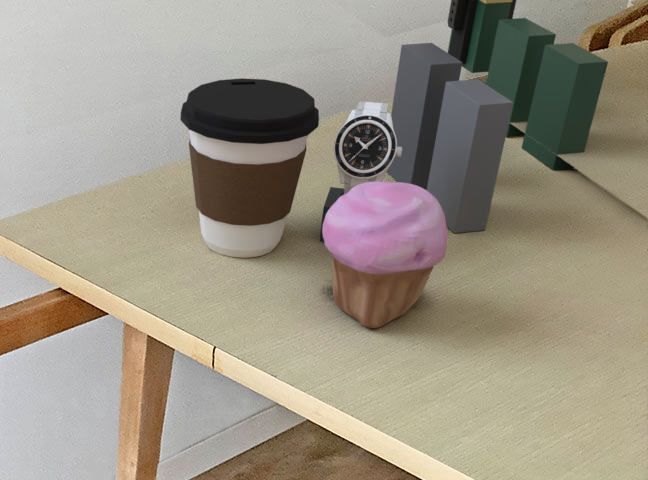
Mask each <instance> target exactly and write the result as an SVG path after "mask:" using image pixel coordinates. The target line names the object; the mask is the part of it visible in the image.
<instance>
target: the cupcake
mask: <svg viewBox="0 0 648 480" xmlns="http://www.w3.org/2000/svg"><path fill="white" fill-rule="evenodd" d="M322 233H323V238H324V242H323V243H324V246H325V248H326V249H327V250H328V252H329V253H330V254H331V258H332V261H331V262H332V268H331V269H332V270H331V271H332V277H331V279H332V294H333V299H334V303H335V305H336V306H337V307H338V308H339V309H340V310H342V311H343V312H345V313H346V314H347V315H349V316H350V317H352V318H354V319H355V320H356V321H357V322H358V323H359V324H360V325H361V326H363V327H366V328H370V329H379V328H381V327H384V325H386V324H388V323H390V322H391V321H393V320H395V319H397V318H400V317H401V316H404V314H405V313H406V312H407V311H409V310H410V308H412V307H413V305H414V304H416V302H417V301H418V300H419V298H420V297H421V295H422V293H423V292H424V290H425V287H426V285H427V283H428V280H429V279H430V275H431V274H432V271H433V269H434V268H435V267H434V266H436V265H438V264H439V263H440V262H441V261H442V260H443V259H444V258H445V255H446V252H447V247H448V246H447V245H448V227H447V226H446V220H445V215H444V212H443V210H442V208H441V206H440V204H439V202H438V200H437V199H436V198H435V197H434V196H433V195H432V194H431V193H429V192H428V191H427V190H425V189H423V188H421V187H419V186H416V185H413V184H408V183H401V182H397V181H396V182H389V181H382V182H367V183H362V184H359V185H357V186H355V187H353V188H352V189H351V190H350V191H349V192H348V193H346V194H344V195H342V196H341V197H339V198H338V200H337V201H336V202H335V203H334V204H333V205H332V206H331V207H330V209H329V210H328V212H327V213H326V216H325V220H324V223H323V229H322Z"/></svg>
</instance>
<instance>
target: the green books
mask: <svg viewBox="0 0 648 480" xmlns="http://www.w3.org/2000/svg"><path fill="white" fill-rule="evenodd" d="M556 36H557V34H556V33H554V32H553V31H551V30H549V29H547V28H545V27H543V26H541V25H539V24H537V23H536V22H533V21H531V20H530V19H528V18H526V17H520V18H519V17H518V18H513V19H501V20H499V22H498V27H497V32H496V37H495V42H494V47H493V52H492V57H491V62H490V67H489V71H488V72H487V77H486V82H485V84H486V85H487V86H489V87H490V88H492V89H494V90H495V91H497V92H498V93H500V94H501V95H503V96H504V97H506V98H507V99H509V100H510V101H512V102H513V106H512V110H511V115H510V119H509V124H508V129H507V133H506V138H516V137H523V140H522V144H521V149H522V150H523V151H525V152H526V153H528V154H529V155H530V156H532V157H534V158H535V159H536V160H537V161H539V162H540V163H542V164H543V165H545V166H546V167H548V168H549V169H550V170H552V171H558V170H567V169H576V167H575V166H574V165H572V164H570V163H569V162H568V161H566V160H565V159H563V158H562V157H560V156H559V155H568V154H569V155H570V154H580V153H585V150H586V146H587V144H588V139H589V136H590V131H591V128H592V123H593V122H594V121H593V120H594V116H595V113H596V109H597V106H598V102H599V99H600V94H601V90H602V86H603V83H604V80H605V76H606V72H607V68H608V64H609V61H608V60H606V59H604V58H602V57H600V56H598V55H597V54H594V53H593V52H590V51H589V50H587V49H585V48H584V47H581V46H579V45H577V44H576V43H574V42H570V43H569V42H568V43H555V40H556ZM526 122H527V123H526ZM513 123H526V127H525V131H522V130H521V129H520V128H518V127H516V126H515V125H514V124H513Z"/></svg>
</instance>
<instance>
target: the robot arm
mask: <svg viewBox="0 0 648 480" xmlns="http://www.w3.org/2000/svg"><path fill="white" fill-rule="evenodd" d="M477 1H478V0H450V5H449V12H448V16H447V26H448V28H450V29H451V31H452V29H453V31H452V36H451V35H450V36H451V42H450V41H449V42H450V47H449V46H448V47H449V53H448V52H447V53H448V54H450V55H452V56H453V57H455V58H456V59H458V60H459V61H461V62H462V64H465V63H466V58H467V53H468V48H469V42H470V37H471V32H472V27H473V22H474V16H475V11H476V6H477ZM516 5H517V0H512V2H511V6H510V11H509V16H508V19H514V14H515V9H516Z"/></svg>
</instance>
